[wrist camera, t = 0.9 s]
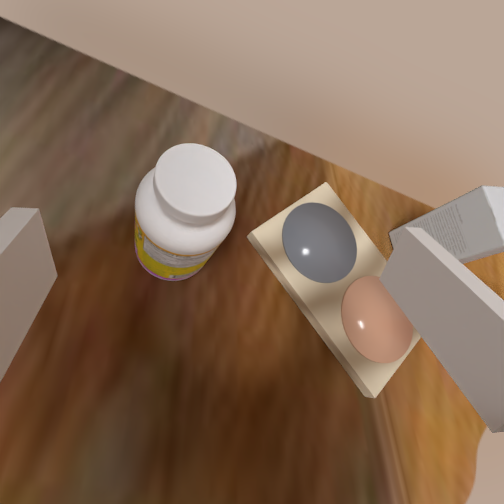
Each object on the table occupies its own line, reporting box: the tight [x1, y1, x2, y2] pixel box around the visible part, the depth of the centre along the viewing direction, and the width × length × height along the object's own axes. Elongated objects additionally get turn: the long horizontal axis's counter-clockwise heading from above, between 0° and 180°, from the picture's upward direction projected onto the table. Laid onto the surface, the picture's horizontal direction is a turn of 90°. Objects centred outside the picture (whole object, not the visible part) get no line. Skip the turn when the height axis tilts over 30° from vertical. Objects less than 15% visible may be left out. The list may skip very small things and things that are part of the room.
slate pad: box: [282, 202, 357, 283], centre depth 33 cm, size 9×9×1 cm
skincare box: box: [389, 186, 504, 264], centre depth 34 cm, size 6×4×12 cm
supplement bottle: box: [135, 143, 236, 281], centre depth 23 cm, size 7×7×13 cm
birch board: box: [247, 182, 421, 398], centre depth 34 cm, size 20×12×2 cm, turn 40°
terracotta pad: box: [341, 276, 413, 363], centre depth 33 cm, size 9×9×1 cm
